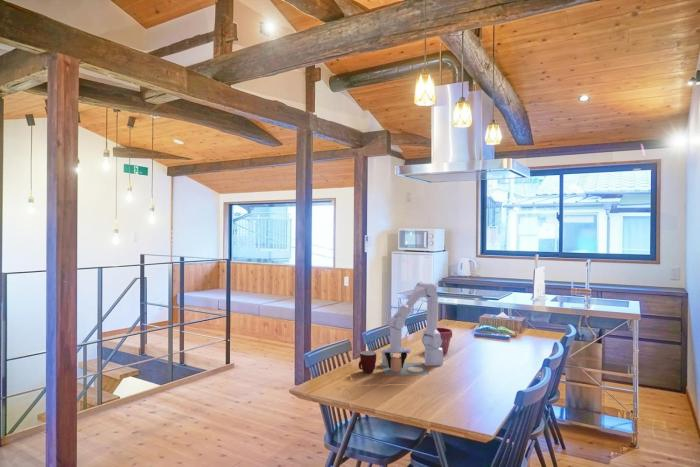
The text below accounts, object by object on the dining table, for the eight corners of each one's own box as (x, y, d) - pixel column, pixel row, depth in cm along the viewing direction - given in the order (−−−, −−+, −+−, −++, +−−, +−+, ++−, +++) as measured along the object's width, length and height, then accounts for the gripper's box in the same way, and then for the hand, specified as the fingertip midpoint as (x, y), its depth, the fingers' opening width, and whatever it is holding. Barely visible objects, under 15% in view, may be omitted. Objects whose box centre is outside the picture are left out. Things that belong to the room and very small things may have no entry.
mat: (420, 363, 242) (420, 362, 242) (429, 375, 222) (429, 374, 222) (379, 364, 241) (379, 362, 241) (384, 376, 221) (384, 375, 221)
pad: (421, 367, 233) (421, 366, 233) (424, 372, 225) (424, 371, 225) (406, 367, 233) (406, 366, 233) (408, 372, 225) (408, 371, 225)
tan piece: (400, 368, 232) (400, 355, 232) (402, 371, 226) (402, 358, 226) (389, 368, 231) (389, 355, 231) (391, 371, 226) (391, 358, 226)
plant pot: (450, 348, 273) (450, 327, 273) (453, 355, 259) (453, 332, 259) (426, 347, 274) (426, 326, 274) (428, 354, 260) (428, 332, 260)
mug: (367, 377, 218) (367, 357, 218) (353, 374, 223) (354, 354, 223) (379, 372, 226) (379, 352, 226) (366, 369, 231) (366, 350, 231)
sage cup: (391, 363, 240) (391, 351, 240) (393, 366, 235) (393, 353, 235) (381, 363, 240) (381, 351, 240) (382, 366, 234) (382, 354, 234)
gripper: (382, 342, 224) (382, 370, 224) (411, 342, 225) (411, 369, 225) (380, 339, 231) (380, 365, 231) (408, 339, 232) (408, 365, 232)
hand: (395, 367), depth 229 cm, fingers closed on tan piece, 6 cm apart
